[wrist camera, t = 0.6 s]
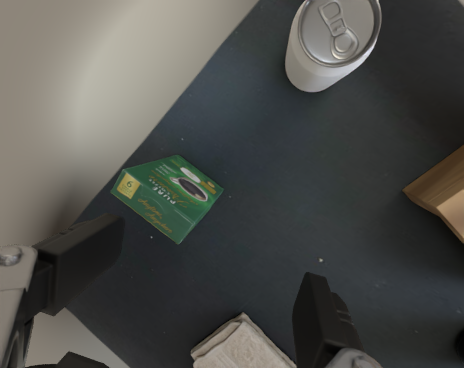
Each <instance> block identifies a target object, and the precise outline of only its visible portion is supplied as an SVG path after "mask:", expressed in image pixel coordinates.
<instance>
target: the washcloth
mask: <svg viewBox="0 0 464 368" xmlns="http://www.w3.org/2000/svg"><path fill="white" fill-rule="evenodd" d="M191 356H192V357H193V358H194V360H195V362H194V364H193V367H194V368H297V366H296V365H295V364H294V363H293V361H291V360H290V359H289V358H288V356H287V355H285V354H284V353H283V352H281V350H280V349H279V348H277V347H276V346H275V344H274V343H273V342H272V341H271V340H270V339H268V337H266V336H265V334H264V333H263V331H262V330H261V329H260V328H259V327H257V325H256V324H254V323H253V322H252V321H251V319H249V317H248V316H247V315H246V314H244V313H243V312H242V313H241V314H240V315H239V316H237V317H236V318H235V319H232V320H230V321H228V322H227V323H225V324H224V325H222V326H221V327H220V328H218V329H217V330H216V331H215V332H214V333H213V334H211V335H210V336H208V337H207V338H206V339H205V340H203V341H202V342H201V343H199V344H198V345H197V346H196V347H194V348H193V349H192V350H191Z"/></svg>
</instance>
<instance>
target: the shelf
mask: <svg viewBox="0 0 464 368" xmlns="http://www.w3.org/2000/svg"><path fill="white" fill-rule="evenodd" d="M402 191H403V192H404V193H405V194H406V195H407V196H408V198H409V199H410V200H411V201H412V202H414V203H415V204H417V205H419V206H421V207H423V208H424V209H426V210H428V211H430V212H432V213H433V214H435V215H437V216H439V217H440V218H441V219H442V220H443V221H444V222H445V223H446V225H447V226H448V227H449V228H450V229H451V230H452V231H453V233H454V234H455V235H456V236H457V237H458V238H459V239H460V240H461V242H462V243H463V244H464V145H463V146H461V147H460V148H459V149H457V150H456V151H454V152H453V153H452V154H450V155H449V156H448V157H446V158H445V159H444V160H442V161H441V162H439V163H438V164H437V165H435V166H434V167H433V168H431V169H430V170H428V171H427V172H426V173H424V174H423V175H422V176H420V177H419V178H418V179H416V180H415V181H413V182H412V183H411V184H409V185H408V186H407V187H405V188H404V189H402Z"/></svg>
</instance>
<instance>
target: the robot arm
mask: <svg viewBox="0 0 464 368" xmlns="http://www.w3.org/2000/svg"><path fill="white" fill-rule="evenodd" d="M124 227H125V220H124V218H123V217H119V216H116V215H112V214H109V213H105V214H103V215H101V216H99V217H97V218H95V219H94V220H89V221H85V222H80V223H77V224H75V225H73V226H71V227H69V228H68V229H65V230H63V231H61V232H60V233H59V234H58V233H57V234H55V235H53V236H51V237H49V238H47V239H45V240H43V241H41V242H39V243H37V244H35V245H33V246H31V247H30V246H26V245H7V246H0V368H24V367H25V362H26V357H27V353H28V348H29V343H30V338H31V333H32V329H33V323H34V316H35V315H36V314H38V313H39V312H43V313H46V314H49V315H52V316H55V315H56V314H57V313H58V312H59V311H60V310H62V309H63V308H64V307H65V306H66V305H67V304H69V303H70V302H71V301H72V300H73V299H74V298H76V297H77V296H78V295H79V294H80V293H81V292H82V291H84V290H85V289H86V288H87V287H88V286H89V285H90V284H92V283H93V282H94V281H95V280H96V279H97V278H99V277H100V276H101V275H102V274H103V273H104V272H105V271H107V270H108V269H109V268H110V267H111V266H112V265H113V264H114V263H115V262H116V261H117V259H118V258H119V255H120V253H121V248H122V241H123V234H124ZM292 323H293V334H294V345H295V355H296V366H297V368H383V367H382V366H381V365H380V364H379V363H378V362H377V361H376V360H374V359H373V358H372V357H370V356H369V355H367V354H366V353H365V351H364V349H363V346H362V344H361V341H360V339H359V336H358V334H357V331H356V329H355V326H354V325H353V321H352V319H351V316H349V311H348V309H347V306H346V304H345V303H344V302H343V300H342V299H341V298H340V297H339V296H338V295H337V294H336V293H333V292H331V291H330V288H329V285H328V282H327V280H326V278H325V277H323V276H319V275H316V274H312V273H309V272H306V273H305V275H304V278H303V280H302V283H301V286H300V289H299V292H298V295H297V298H296V301H295V304H294V308H293V314H292ZM25 368H109V367H108V366H106V365H105V364H104V363H101V362H98V361H95V360H92V359H90V358H87V357H84V356H81V355H78V354H75V353H72V352H68V353H67V354H66V355H65V356H64V357H63V358H62V359H61V360H60V362H59V363H58V364H45V365H44V364H43V365H35V366H29V367H25Z"/></svg>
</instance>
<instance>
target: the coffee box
mask: <svg viewBox="0 0 464 368" xmlns="http://www.w3.org/2000/svg"><path fill="white" fill-rule="evenodd" d="M223 191H224V189H223V188H222V187H220V186H219V185H218V184H217V183H215V182H214V181H213V180H211V179H210V178H208V177H207V176H206V175H204V174H203V173H202V172H201V171H199V170H198V169H197V168H196V167H194V166H193V165H192V164H190V163H189V162H188V161H186V160H185V159H184V158H182V157H181V156H180V155H173V156H171V157H167V158H163V159H160V160H156V161H152V162H148V163H145V164H141V165H137V166H133V167H130V168H126V169H123V170H122V172H121V174H120V176H119V178H118V179H117V181H116V183H115V185H114V187H113V189H112V191H111V193H112V194H114V195H115V196H116V197H117V198H119V199H120V200H121V201H123V202H124V203H125V204H127V205H128V206H129V207H130V208H132V209H133V210H134V211H136V212H137V213H138V214H139V215H141V216H142V217H143V218H145V219H146V220H147V221H149V222H150V223H151V224H152V225H154V226H155V227H156V228H158V229H159V230H160V231H161V232H163V233H164V234H165V235H167V236H168V237H169V238H171V239H172V240H173V241H175V242H176V243H177V244H180V243H181V242H182V240H183V239H184V238H185V237H186V236H187V235H188V234H189V233H190V232H191V230H192V229H193V228H194V227H195V226H196V225H197V224H198V223H199V221H200V220H201V219H202V218H203V217H204V216H205V215H206V213H207V212H208V211H209V210H210V209H211V207H212V206H213V204H214V203H215V202H216V200H217V199H218V197H219V196H220V195H221V194H222V192H223Z"/></svg>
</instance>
